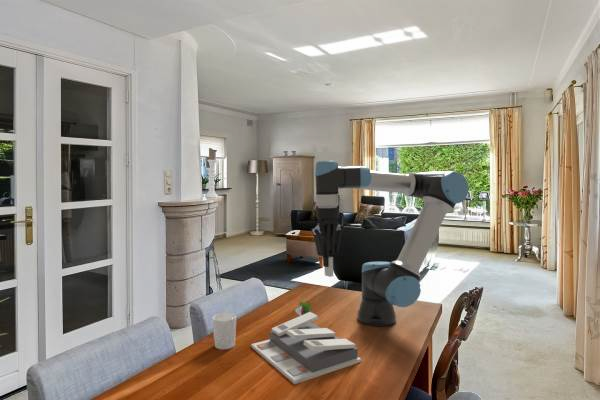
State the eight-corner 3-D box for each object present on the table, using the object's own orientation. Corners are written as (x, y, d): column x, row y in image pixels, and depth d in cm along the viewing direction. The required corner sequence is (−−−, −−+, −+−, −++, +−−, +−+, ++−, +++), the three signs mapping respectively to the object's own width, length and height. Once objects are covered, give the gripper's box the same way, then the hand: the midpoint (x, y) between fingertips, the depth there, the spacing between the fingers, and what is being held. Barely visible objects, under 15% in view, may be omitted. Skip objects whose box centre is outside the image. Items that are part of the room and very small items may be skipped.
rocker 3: (344, 342, 125) (345, 338, 125) (354, 348, 121) (355, 344, 121) (303, 344, 117) (303, 340, 117) (312, 350, 112) (313, 346, 112)
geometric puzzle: (300, 308, 163) (296, 297, 158) (316, 310, 161) (312, 298, 156) (296, 323, 158) (291, 312, 153) (312, 325, 156) (308, 314, 151)
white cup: (231, 351, 128) (231, 321, 128) (209, 349, 130) (208, 320, 129) (240, 341, 136) (239, 313, 135) (218, 339, 138) (218, 312, 137)
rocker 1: (310, 314, 142) (310, 311, 142) (318, 319, 138) (317, 315, 138) (272, 331, 134) (271, 328, 134) (279, 336, 130) (278, 333, 129)
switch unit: (310, 331, 144) (310, 321, 144) (361, 361, 121) (361, 349, 120) (251, 347, 132) (251, 335, 131) (294, 384, 108) (294, 370, 108)
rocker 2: (326, 331, 134) (326, 327, 134) (335, 336, 129) (335, 332, 129) (286, 333, 125) (286, 329, 125) (294, 339, 121) (295, 335, 121)
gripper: (334, 204, 138) (336, 270, 140) (305, 207, 131) (307, 276, 132) (349, 205, 132) (350, 274, 134) (319, 208, 125) (320, 281, 126)
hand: (328, 275), depth 133 cm, fingers closed
